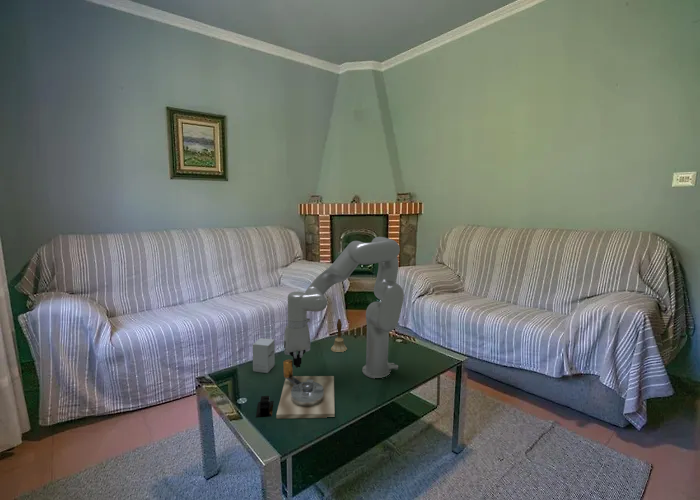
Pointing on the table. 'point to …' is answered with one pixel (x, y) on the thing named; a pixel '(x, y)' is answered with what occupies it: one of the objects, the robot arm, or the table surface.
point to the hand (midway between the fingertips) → (297, 365)
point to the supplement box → (263, 355)
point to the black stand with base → (264, 407)
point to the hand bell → (339, 340)
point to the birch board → (317, 411)
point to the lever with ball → (303, 388)
